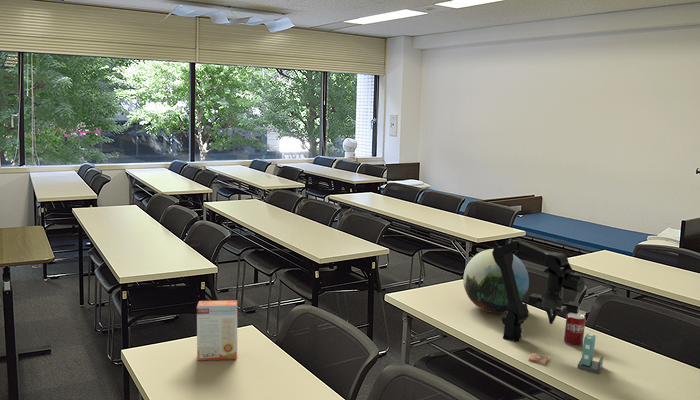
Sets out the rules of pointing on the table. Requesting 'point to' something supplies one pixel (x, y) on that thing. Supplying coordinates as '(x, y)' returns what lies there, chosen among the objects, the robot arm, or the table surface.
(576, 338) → the soda can
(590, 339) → the key two
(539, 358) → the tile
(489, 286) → the decorative globe
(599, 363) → the key two base
